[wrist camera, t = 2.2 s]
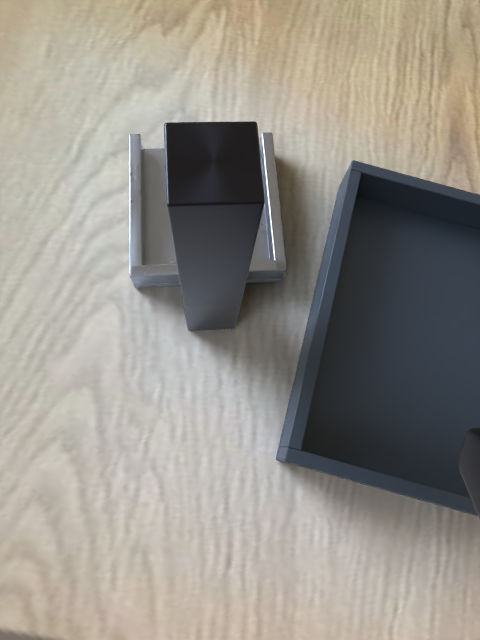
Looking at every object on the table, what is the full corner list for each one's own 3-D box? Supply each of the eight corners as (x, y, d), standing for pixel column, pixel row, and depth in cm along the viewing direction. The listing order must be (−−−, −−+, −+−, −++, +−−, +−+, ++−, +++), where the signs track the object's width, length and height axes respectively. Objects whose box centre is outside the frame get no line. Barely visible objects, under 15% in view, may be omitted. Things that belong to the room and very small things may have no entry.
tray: (528, 530, 21) (570, 541, 18) (275, 459, 21) (284, 461, 18) (547, 244, 25) (584, 222, 23) (338, 187, 25) (352, 159, 23)
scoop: (286, 326, 23) (368, 199, 11) (135, 333, 22) (54, 208, 10) (268, 150, 25) (318, -95, 14) (133, 153, 25) (69, -103, 13)
